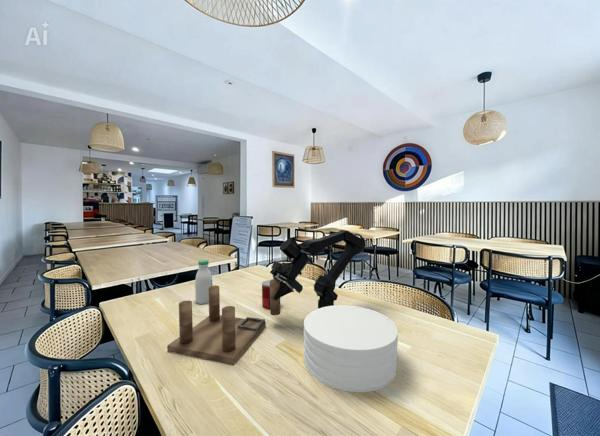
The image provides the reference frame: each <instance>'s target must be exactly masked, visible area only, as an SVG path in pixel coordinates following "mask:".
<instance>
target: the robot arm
mask: <svg viewBox="0 0 600 436" xmlns="http://www.w3.org/2000/svg"><path fill="white" fill-rule="evenodd" d="M341 242H344V250H343V251H342V252H341V254H340V256H339V257H338V259H336V261H335V262H334V264H333V265H332V266H331V268H330V269H329V271H328V272H327V274H324V275H323V274H319V276H318V278H317V279H316V280H315V281H314V284H313V291H314V292H315V294H316V296H317V297H319V299H318V300H317V309H319V308H322V307H327V306H335V301H337V300H338V297H339V295H338V293H336V292H335V291H334V290H335V289H336V284H337V280H338V279H339V277H340V276H341V275H342V273H343V272H344V271H345V269H346V268H347V266H348V265H349V263H350V262H351V261H352V259H353V258H354V257H355V256H356V255H359V254H361V253H362V251H364V249H365V248H366V241H365V238H364V237H360V236H358V235H355V234H353V233H352V232H350V230H346V229H340V230H339V231H336V232H333V233H331V234H329V235H326V236H323V237H321V238H310V239H306V240H303V242H300V243H298V242H297V241H296V239H294V238H293V237H291V236H290V237H289V238H288V239H286V240H284V241H283V242H282V243H281V244H280V246H279V250H280V251H281V253H283V254H284V256H286V257H287V258H288V259H290V262H284V261H283V262H282V263H281V262H279V261H276V260H273V263H272V265H271V270H270V272H269V273H270V274H271V275H272V279H279V280H280V288H279V290H278V291H277V293H276V294H275V296H274V298H273V299H274V300H277V299H279V298H280V299H281V298H282V297H285V296H287V295H288V294H290V293H294V292H295V291H296V293H298V294H301V292H302V291H303V289H304V288H303V285H302V284H301V283H300V282H299V281H298V280H297V278H298V276H302V274H303V272H302V271H303V270H304V269H305V267H306V266H307V264H311V265H314V261H313V257H312V256H317V255H319V254H320V253H322V252H323V251H324V249H326V248H328V247H330V246H333V245H336V244H338V243H341ZM309 255H310V256H309ZM291 259H292V260H291ZM269 296H270V293H269Z"/></svg>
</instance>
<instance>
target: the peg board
mask: <svg viewBox="0 0 600 436" xmlns="http://www.w3.org/2000/svg"><path fill="white" fill-rule="evenodd" d="M220 296H221V295H220V286H219V285H212V286H210V287H209V303H208V315H207V317H205V318H204V319H203V320H201V321H200V322H199V323H197V324H195V325H194V326H193V301H192V300H182V301H180V302H179V303H178V322H179V325H178V326H179V328H178V329H179V337H178V338H175V340H173V341H171V342H170V343H169V344H167V352H168V353H174V354H179V355H184V356H189V357H194V358H199V359H203V360H204V359H205V360H210V361H214V362H219V363H224V364H231V365H235V364H236V363H237V362H238V360H239V359H240V358H241V357H242V355H243V354H245V352H246V351H247V349H249V347H251V345H252V343H254V341H256V339H257V338H258V337H259V336H260V334H261V333H262V332H263V331H264V329H265V328H266V327H267V325H266V323H267V322H266V319H265V318H264V319H263V318H258V317H250V316H247V317H246V318H242V317H236V307H235V306H233V305H227V306H223V307H222V308H220V304H221V303H220V301H221V299H220ZM220 313H221V314H220Z"/></svg>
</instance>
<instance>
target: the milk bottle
mask: <svg viewBox="0 0 600 436" xmlns="http://www.w3.org/2000/svg"><path fill="white" fill-rule="evenodd" d="M197 264H198V269H197V272H196V275H195V278H194V279H195V282H194V285H195V286H194V287H195V289H194V291H195V293H194V294H195V303H196V304H198V305H205V304H209V287H210V286H213V276H212V272H211V270H210V268H209V260H208V259H200V260H198V263H197Z"/></svg>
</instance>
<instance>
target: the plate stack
mask: <svg viewBox="0 0 600 436" xmlns="http://www.w3.org/2000/svg"><path fill="white" fill-rule="evenodd" d="M398 337H399V330H398V327H397V325H396V324H395V323H394V321H392V320H391V319H390V318H389V317H387V316H386V315H384V314H382V313H380V312H378V311H376V310H373V309H369V308H366V307H362V306H356V305H345V304H342V305H341V304H337V305H335V304H334V306H327V307H322V308H319V309H318V308H316V309H315V310H312V311H310V312H309V313H308V314H307V315H306V316H305V318H304V320H303V363H304V366H305V368H306V370H307V371H308V373H309V375H311V376H312V377H313V378H314V379H316V380H317V381H318V382H320V383H321V384H324V385H326V386H328V387H330V388H333V389H335V390H340V391H344V392H349V393H350V392H351V393H367V392H368V393H369V392H374V391H378V390H380V388H381V389H383V388H385V387H387V386H388V385H389V384H391V383H392V381H393V380H394V379H395V377H396V375H397V372H398V371H397V370H398V369H397V367H398V365H397V364H398V342H399V341H398Z"/></svg>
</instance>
